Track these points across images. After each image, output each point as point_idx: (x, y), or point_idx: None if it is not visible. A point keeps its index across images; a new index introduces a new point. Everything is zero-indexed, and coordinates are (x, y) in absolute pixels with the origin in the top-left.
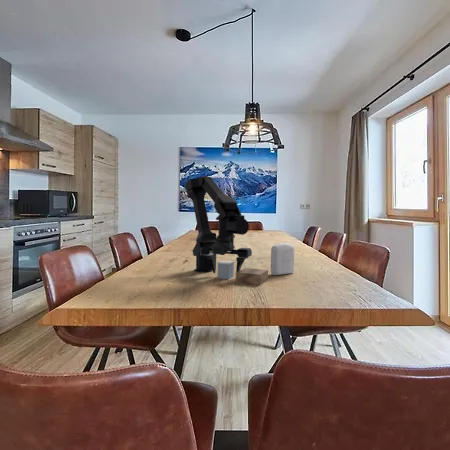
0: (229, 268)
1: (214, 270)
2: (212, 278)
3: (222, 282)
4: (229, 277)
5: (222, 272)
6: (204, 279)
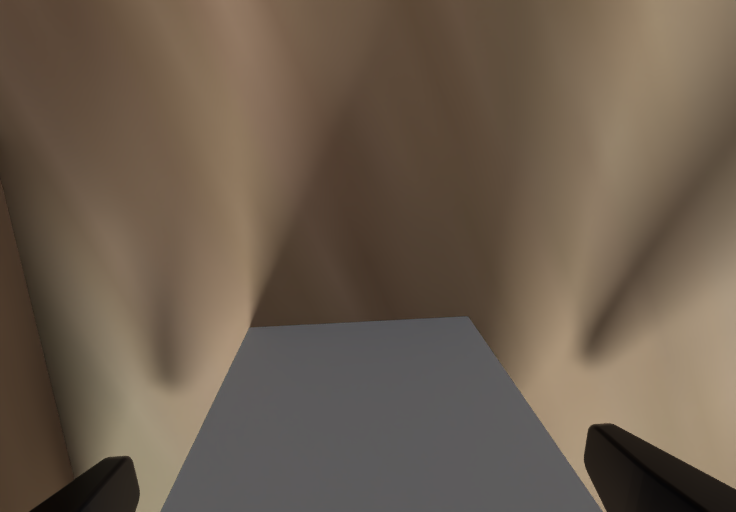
0: (174, 500)
1: (624, 470)
2: (542, 252)
3: (225, 7)
4: (243, 355)
5: (389, 384)
6: (658, 107)
